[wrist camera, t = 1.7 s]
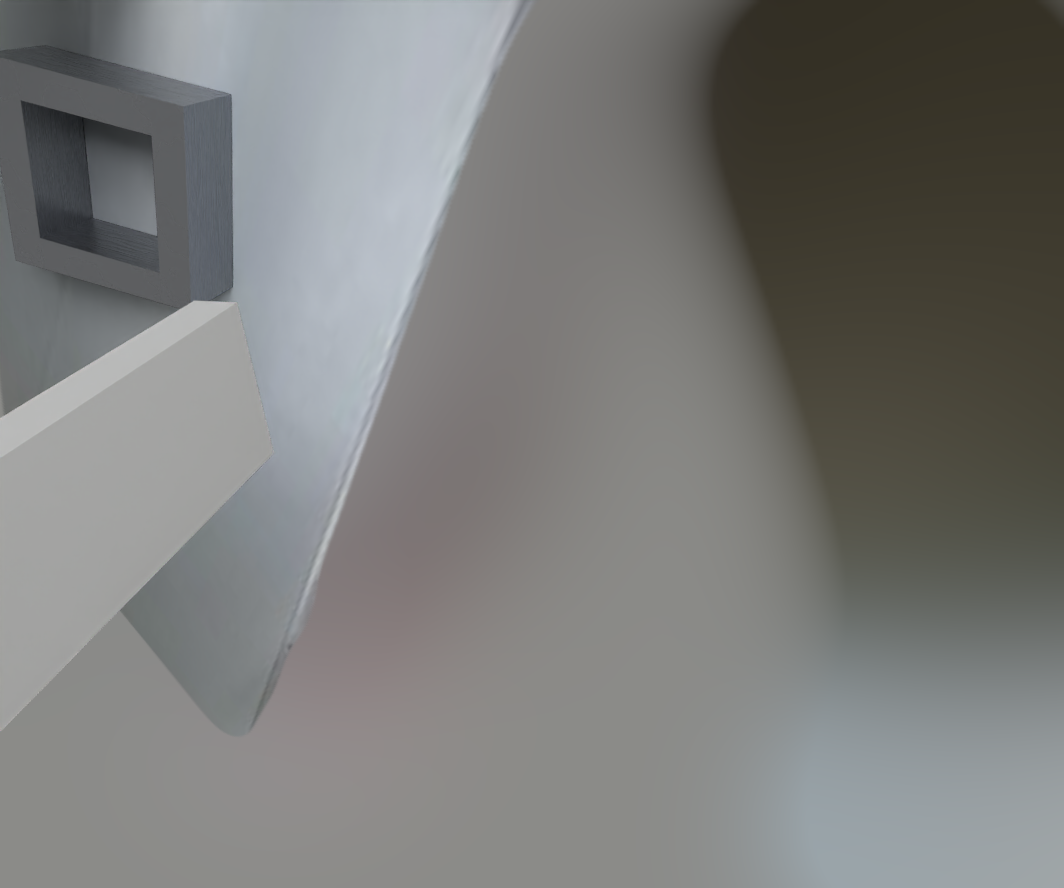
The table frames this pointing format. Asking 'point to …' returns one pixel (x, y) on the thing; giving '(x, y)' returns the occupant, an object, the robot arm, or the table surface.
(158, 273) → the gray square frame
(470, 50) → the table surface
